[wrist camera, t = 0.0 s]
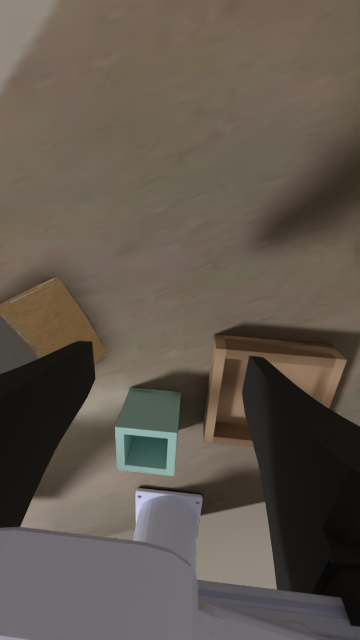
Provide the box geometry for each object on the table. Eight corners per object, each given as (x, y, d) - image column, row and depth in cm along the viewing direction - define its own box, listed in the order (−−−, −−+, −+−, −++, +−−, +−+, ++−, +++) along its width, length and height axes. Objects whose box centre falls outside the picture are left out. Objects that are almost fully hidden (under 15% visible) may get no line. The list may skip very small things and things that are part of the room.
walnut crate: (302, 431, 25) (312, 453, 23) (203, 421, 26) (203, 442, 23) (331, 344, 21) (347, 359, 19) (214, 334, 22) (216, 348, 20)
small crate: (178, 430, 26) (173, 475, 22) (131, 425, 27) (117, 469, 22) (181, 392, 25) (177, 433, 20) (130, 387, 25) (114, 426, 20)
